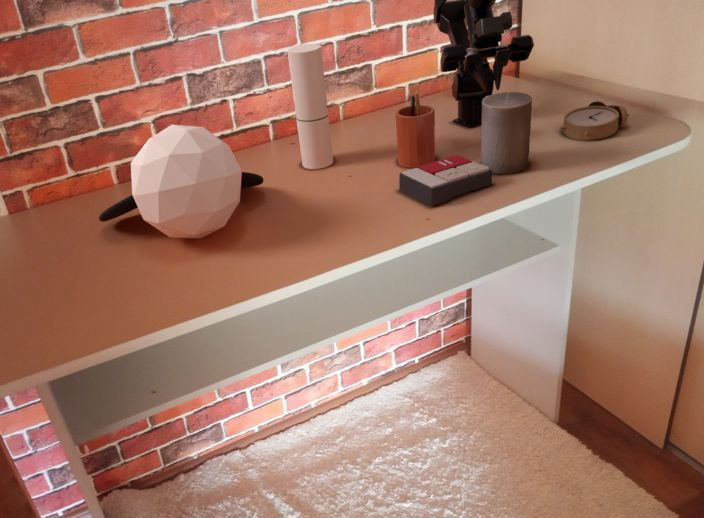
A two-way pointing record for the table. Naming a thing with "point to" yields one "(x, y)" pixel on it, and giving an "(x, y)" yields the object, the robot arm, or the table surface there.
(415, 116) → the pen pot
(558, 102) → the table surface
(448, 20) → the robot arm
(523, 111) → the pillar candle
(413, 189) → the calculator
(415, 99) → the pencils
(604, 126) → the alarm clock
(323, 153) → the cylindrical container
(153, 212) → the faceted geodesic sphere
